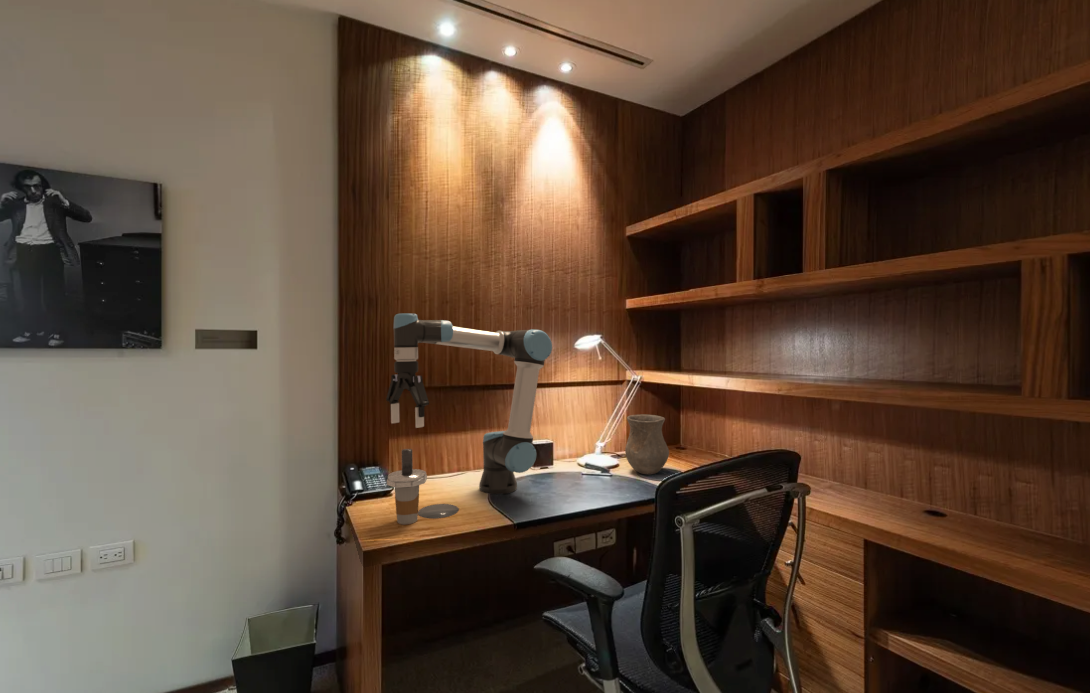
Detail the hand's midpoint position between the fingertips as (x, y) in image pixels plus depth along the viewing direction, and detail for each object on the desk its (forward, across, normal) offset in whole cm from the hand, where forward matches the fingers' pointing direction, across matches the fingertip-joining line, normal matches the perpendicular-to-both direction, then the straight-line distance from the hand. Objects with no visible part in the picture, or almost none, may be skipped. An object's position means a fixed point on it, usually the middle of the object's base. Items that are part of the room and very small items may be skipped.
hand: (407, 425), depth 152 cm
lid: (+19, 0, 0) cm, 19 cm away
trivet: (+32, +1, +12) cm, 34 cm away
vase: (+33, +36, +100) cm, 112 cm away
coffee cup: (+32, 0, 0) cm, 32 cm away
